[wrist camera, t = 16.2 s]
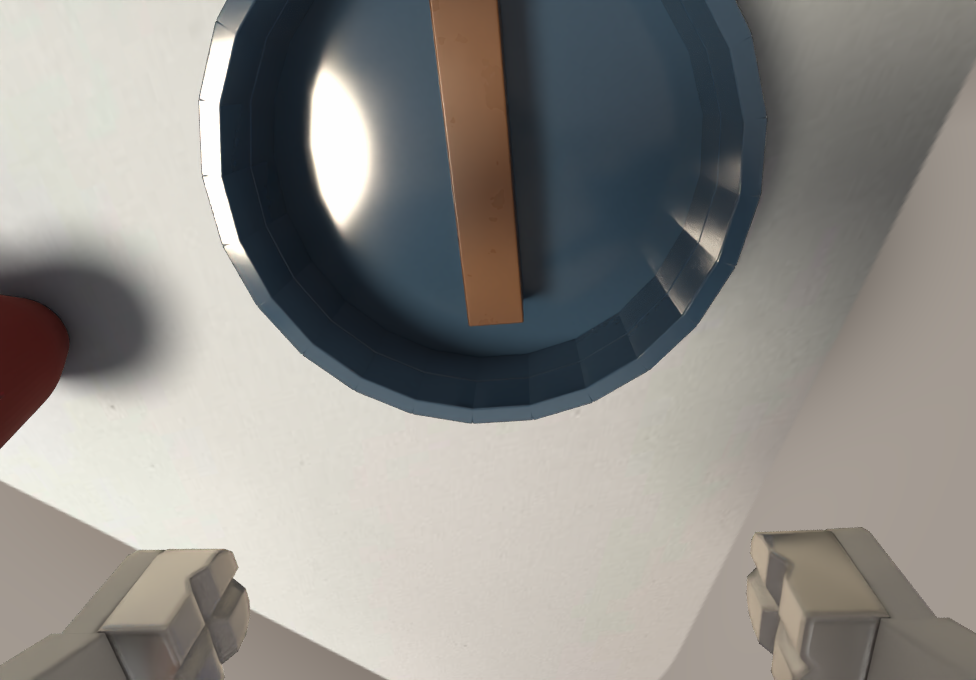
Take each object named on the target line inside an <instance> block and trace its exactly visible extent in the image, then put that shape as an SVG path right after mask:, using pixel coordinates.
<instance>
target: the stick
mask: <svg viewBox="0 0 976 680" xmlns="http://www.w3.org/2000/svg"><path fill="white" fill-rule="evenodd" d="M429 4H430V12H431V21H432V29H433V37H434V45H435V54H436V62H437V70H438V78H439V87H440V95H441V103H442V111H443V119H444V128H445V136H446V144H447V152H448V161H449V169H450V177H451V185H452V193H453V202H454V210H455V218H456V226H457V235H458V243H459V251H460V259H461V268H462V276H463V284H464V292H465V300H466V309H467V317H468V325H469V326H483V325H497V324H511V323H522V322H523V321H524V301H523V286H522V274H521V261H520V248H519V236H518V223H517V210H516V198H515V185H514V172H513V160H512V147H511V134H510V122H509V109H508V96H507V84H506V71H505V58H504V46H503V33H502V20H501V8H500V0H429Z"/></svg>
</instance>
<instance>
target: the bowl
mask: <svg viewBox="0 0 976 680" xmlns="http://www.w3.org/2000/svg"><path fill="white" fill-rule="evenodd" d="M500 8H501V20H502V33H503V46H504V58H505V71H506V84H507V96H508V109H509V122H510V134H511V147H512V160H513V172H514V185H515V198H516V210H517V223H518V236H519V248H520V261H521V274H522V286H523V301H524V321H523V322H522V323H511V324H497V325H483V326H469V325H468V317H467V309H466V300H465V292H464V284H463V276H462V268H461V259H460V251H459V243H458V235H457V226H456V218H455V210H454V202H453V193H452V185H451V177H450V169H449V161H448V152H447V144H446V136H445V128H444V119H443V111H442V103H441V95H440V87H439V78H438V70H437V62H436V54H435V45H434V37H433V29H432V21H431V12H430V4H429V0H227V1H226V2H225V4H224V6H223V8H222V10H221V12H220V14H219V16H218V18H217V21H216V22H215V26H214V31H213V35H212V40H211V45H210V49H209V54H208V58H207V63H206V68H205V72H204V77H203V81H202V86H201V91H200V95H199V122H200V146H201V169H202V175H203V176H202V178H203V181H204V185H205V188H206V191H207V195H208V198H209V202H210V205H211V209H212V212H213V215H214V219H215V222H216V226H217V229H218V232H219V236H220V239H221V243H222V245H223V248H224V249H225V251H226V253H227V255H228V256H229V258H230V260H231V262H232V263H233V265H234V267H235V269H236V270H237V272H238V274H239V276H240V277H241V279H242V281H243V283H244V284H245V286H246V288H247V290H248V291H249V293H250V295H251V297H252V298H253V300H254V302H255V304H256V305H258V308H259V309H260V310H261V311H262V312H263V313H264V314H265V315H266V316H267V317H268V319H269V320H270V321H271V322H272V323H273V324H274V325H275V326H276V327H277V328H278V329H279V330H280V332H281V333H282V334H283V335H284V336H285V337H286V338H287V339H288V340H289V341H290V342H291V344H292V345H293V346H294V347H295V348H296V349H297V350H298V351H299V352H300V353H301V354H303V356H305V357H306V358H307V359H309V360H310V361H312V362H313V363H315V364H316V365H318V366H319V367H320V368H322V369H323V370H325V371H326V372H328V373H329V374H331V375H332V376H334V377H335V378H336V379H338V380H339V381H341V382H342V383H344V384H345V385H347V386H348V387H349V388H351V389H352V390H355V391H356V392H358V393H361V394H363V395H366V396H368V397H371V398H373V399H376V400H378V401H381V402H383V403H386V404H388V405H391V406H393V407H396V408H398V409H400V410H403V411H405V412H408V413H410V414H412V413H413V414H415V415H421V416H427V417H433V418H439V419H446V420H452V421H458V422H464V423H470V424H471V423H472V422H473V423H474V424H477V423H493V422H509V421H525V420H533V419H534V420H536V419H539V418H542V417H546V416H549V415H553V414H556V413H559V412H563V411H566V410H569V409H573V408H576V407H580V406H583V405H586V404H590V403H592V402H594V401H596V400H598V399H600V398H602V397H603V396H605V395H607V394H609V393H610V392H612V391H614V390H616V389H617V388H619V387H621V386H623V385H624V384H626V383H628V382H630V381H631V380H633V379H635V378H637V377H638V376H640V375H642V374H644V373H645V372H647V371H648V370H650V369H651V368H652V367H654V366H655V365H656V364H657V363H658V362H659V361H660V360H661V359H662V358H663V357H664V356H665V355H666V354H667V353H668V352H670V351H671V350H672V349H673V348H674V347H675V346H676V345H677V344H678V343H679V342H680V341H681V340H682V339H683V338H685V337H686V336H687V335H688V334H689V333H690V332H691V331H692V330H693V329H694V328H695V327H696V326H697V324H698V323H699V322H700V320H701V319H702V317H703V316H704V314H705V313H706V311H707V310H708V308H709V307H710V305H711V304H712V302H713V301H714V299H715V297H716V296H717V294H718V293H719V291H720V290H721V288H722V287H723V285H724V284H725V282H726V281H727V279H728V278H729V276H730V275H731V273H732V272H733V270H734V269H735V266H736V265H737V262H738V259H739V257H740V254H741V251H742V248H743V245H744V242H745V239H746V237H747V234H748V231H749V228H750V225H751V222H752V219H753V217H754V214H755V211H756V208H757V205H758V202H759V199H760V195H761V189H762V177H763V165H764V153H765V141H766V129H767V118H766V116H767V113H766V108H765V102H764V97H763V91H762V86H761V81H760V75H759V70H758V64H757V59H756V53H755V48H754V42H753V37H752V36H751V35H752V33H751V31H750V29H749V27H748V25H747V23H746V21H745V19H744V17H743V15H742V13H741V11H740V9H739V7H738V5H737V3H736V1H735V0H500Z"/></svg>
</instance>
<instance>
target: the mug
mask: <svg viewBox="0 0 976 680" xmlns="http://www.w3.org/2000/svg"><path fill="white" fill-rule="evenodd" d="M68 351H69V336H68V333H67V330H66V328H65V326H64V324H63V323H62V321H61V320H60V319H59V317H58V316H57V315H56V314H55V313H54V312H53V311H51V310H50V309H49V308H47V307H46V306H44V305H42V304H40V303H38V302H36V301H33V300H30V299H26V298H19V297H12V296H6V295H0V449H1V448H2V447H3V445H4V444H5V443H6V442H7V441H8V440H9V439H10V438H11V437H12V436H13V435H14V434H15V433H16V432H17V431H18V430H19V429H20V427H21V426H22V425H23V424H24V423H25V422H26V421H27V420H28V419H29V418H30V417H31V416H32V415H33V414H34V413H35V412H36V411H37V409H38V408H39V407H40V406H41V405H42V404H43V403H44V402H45V401H46V400H47V399H48V397H49V396H50V395H51V393H52V392H53V390H54V389H55V387H56V385H57V383H58V381H59V379H60V377H61V374H62V371H63V368H64V365H65V362H66V358H67V355H68Z"/></svg>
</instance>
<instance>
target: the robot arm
mask: <svg viewBox="0 0 976 680" xmlns="http://www.w3.org/2000/svg"><path fill="white" fill-rule="evenodd" d="M750 554H751V557H752V559H753V561H754V563H755V565H756V568H755V569H754V570H753V571H752V572H751V573H750V574H749V575H748V576H747V590H746V595H747V603H748V611H749V616H750V619H751V623H752V627H753V629H754V632H755V634H756V637H757V639H758V642H759V644H761V645H762V646H763V647H764V648H765V649H767V650H768V651H769V652H770V653H772V654H773V659H772V667H771V673H772V675H773V677H774V680H976V633H974V632H973V631H971V630H969V629H968V628H966V627H964V626H962V625H961V624H959V623H957V622H955V621H954V620H952V619H950V618H937V617H936V616H935V614H934V613H933V612H932V611H931V609H930V608H929V607H928V606H927V604H926V603H925V602H924V600H923V599H922V598H921V597H920V595H919V594H918V593H917V591H916V590H915V589H914V588H913V586H912V585H911V584H910V582H909V581H908V580H907V579H906V577H905V576H904V575H903V574H902V572H901V571H900V570H899V568H898V567H897V566H896V565H895V563H894V562H893V561H892V560H891V558H890V557H889V556H888V554H887V553H886V552H885V551H884V549H883V548H882V547H881V546H880V544H879V543H878V542H877V540H876V539H875V538H874V537H873V535H872V534H871V533H870V532H869V531H868V530H866V529H864V528H862V527H858V528H838V529H826V530H801V531H780V532H779V531H776V532H755V534H754V536H753V538H752V541H751V548H750ZM237 569H238V565H237V562H236V560H235V557H234V555H233V552H232V551H229V550H226V549H167V550H138V551H136V552H134V553H132V554H129V555H128V556H127V557H126V558H125V559H124V561H123V562H122V563H121V564H120V565H119V566H118V568H117V569H116V570H115V571H114V572H113V573H112V575H111V576H110V577H109V578H108V579H107V581H106V582H105V583H104V584H103V585H102V586H101V588H100V589H99V590H98V591H97V592H96V594H95V595H94V596H93V597H92V598H91V599H90V600H89V602H88V603H87V604H86V605H85V606H84V607H83V609H82V610H81V611H80V612H79V613H78V615H77V616H76V617H75V618H74V619H73V620H72V622H71V623H70V624H69V625H68V626H67V627H66V629H65V630H64V631H63V632H62V633H61V634H51V635H49V636H47V637H46V638H44V639H43V640H41V641H39V642H37V643H36V644H34V645H33V646H31V647H29V648H28V649H26V650H24V651H23V652H21V653H20V654H18V655H16V656H15V657H13V658H11V659H10V660H8V661H6V662H5V663H3V664H2V665H0V680H224V678H225V676H224V672H223V667H222V664H223V663H224V662H225V661H227V660H228V659H229V658H230V657H232V656H233V655H234V654H235V653H236V652H238V650H239V648H240V646H241V644H242V642H243V640H244V638H245V636H246V632H247V628H248V623H249V618H250V604H249V598H248V595H247V592H246V588H244V587H243V586H242V585H241V584H239V583H238V582H237V581H236V580H235V579H233V577H234V575H235V573H236V571H237Z"/></svg>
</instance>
